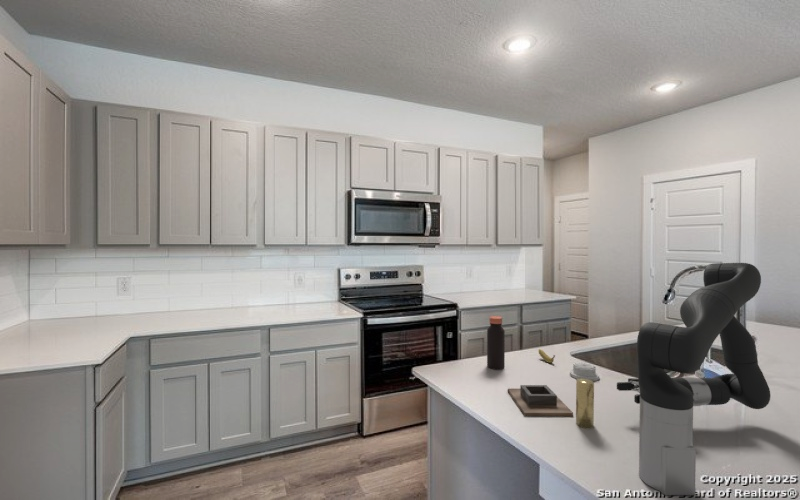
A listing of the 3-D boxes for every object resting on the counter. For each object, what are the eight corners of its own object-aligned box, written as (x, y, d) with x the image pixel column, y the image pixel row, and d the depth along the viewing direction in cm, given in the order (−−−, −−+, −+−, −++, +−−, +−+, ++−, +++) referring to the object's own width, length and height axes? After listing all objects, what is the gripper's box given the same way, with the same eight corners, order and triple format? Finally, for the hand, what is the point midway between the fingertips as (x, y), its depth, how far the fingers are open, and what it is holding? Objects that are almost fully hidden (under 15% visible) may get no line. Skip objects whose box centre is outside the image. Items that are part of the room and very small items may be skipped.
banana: (536, 358, 165) (536, 348, 165) (541, 357, 166) (541, 348, 166) (551, 365, 156) (551, 355, 156) (556, 364, 156) (556, 355, 156)
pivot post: (596, 428, 104) (597, 384, 103) (580, 428, 104) (580, 384, 103) (588, 420, 108) (589, 378, 108) (573, 420, 108) (573, 378, 108)
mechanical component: (573, 380, 139) (603, 382, 137) (573, 368, 139) (603, 370, 137) (567, 371, 149) (594, 373, 147) (567, 360, 149) (594, 361, 147)
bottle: (486, 368, 152) (486, 318, 151) (487, 363, 158) (487, 315, 158) (504, 370, 150) (504, 319, 149) (504, 365, 156) (504, 316, 156)
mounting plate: (573, 416, 111) (573, 402, 111) (524, 416, 111) (524, 402, 111) (549, 391, 129) (549, 379, 129) (507, 391, 129) (507, 379, 129)
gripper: (667, 369, 113) (611, 370, 113) (705, 388, 98) (642, 389, 99) (667, 394, 113) (611, 395, 113) (705, 417, 99) (641, 418, 99)
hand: (625, 392), depth 106 cm, fingers open, 8 cm apart
